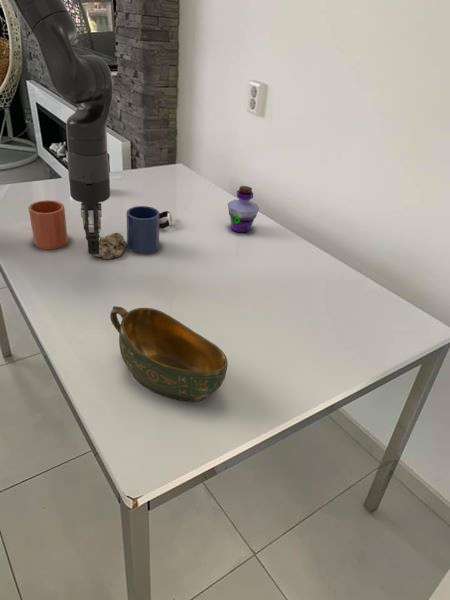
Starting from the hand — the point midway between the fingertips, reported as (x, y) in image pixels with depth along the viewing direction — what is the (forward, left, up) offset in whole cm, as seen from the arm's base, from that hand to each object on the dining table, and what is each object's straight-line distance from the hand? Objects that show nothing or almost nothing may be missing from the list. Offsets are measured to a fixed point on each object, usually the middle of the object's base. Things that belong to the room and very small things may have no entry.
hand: (94, 252), depth 96 cm
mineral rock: (+2, +11, -6) cm, 13 cm away
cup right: (+9, +14, -6) cm, 18 cm away
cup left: (-13, +14, -6) cm, 20 cm away
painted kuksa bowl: (+16, -31, -6) cm, 35 cm away
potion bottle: (+35, +27, -6) cm, 44 cm away
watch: (+14, +27, -6) cm, 31 cm away
